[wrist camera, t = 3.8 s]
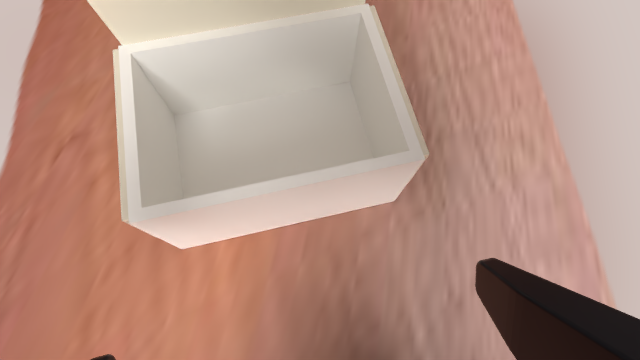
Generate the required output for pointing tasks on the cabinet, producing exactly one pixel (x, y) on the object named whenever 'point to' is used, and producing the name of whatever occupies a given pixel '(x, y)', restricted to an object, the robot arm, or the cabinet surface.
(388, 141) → the carton
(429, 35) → the cabinet surface
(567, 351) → the robot arm
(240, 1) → the carton flap
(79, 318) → the cabinet surface
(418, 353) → the cabinet surface
